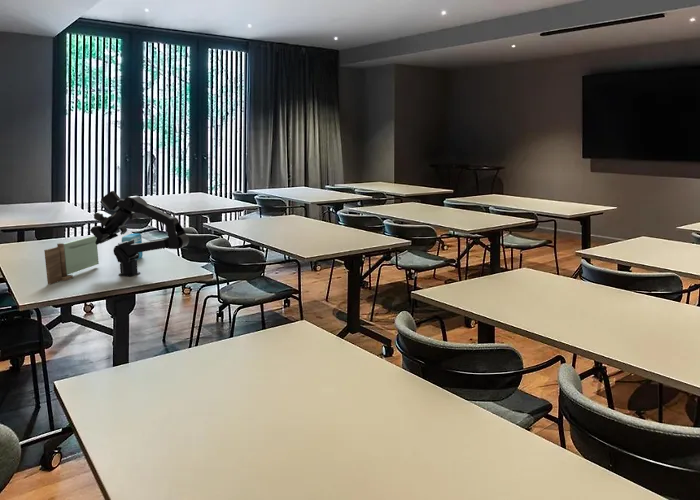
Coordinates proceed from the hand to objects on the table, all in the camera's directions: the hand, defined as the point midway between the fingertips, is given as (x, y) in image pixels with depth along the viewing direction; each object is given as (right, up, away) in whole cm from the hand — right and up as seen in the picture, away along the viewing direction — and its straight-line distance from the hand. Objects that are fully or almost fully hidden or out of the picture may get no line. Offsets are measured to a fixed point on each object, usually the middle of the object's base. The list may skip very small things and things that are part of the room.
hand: (97, 243), depth 246 cm
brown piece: (-11, -16, -11) cm, 22 cm away
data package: (+4, -8, +30) cm, 31 cm away
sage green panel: (-9, -11, +3) cm, 15 cm away
